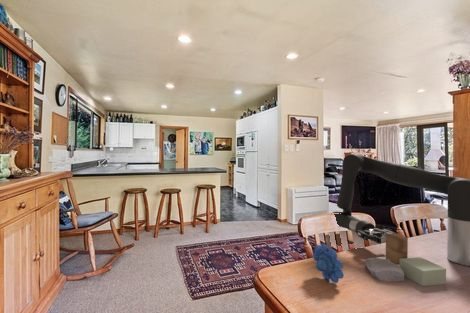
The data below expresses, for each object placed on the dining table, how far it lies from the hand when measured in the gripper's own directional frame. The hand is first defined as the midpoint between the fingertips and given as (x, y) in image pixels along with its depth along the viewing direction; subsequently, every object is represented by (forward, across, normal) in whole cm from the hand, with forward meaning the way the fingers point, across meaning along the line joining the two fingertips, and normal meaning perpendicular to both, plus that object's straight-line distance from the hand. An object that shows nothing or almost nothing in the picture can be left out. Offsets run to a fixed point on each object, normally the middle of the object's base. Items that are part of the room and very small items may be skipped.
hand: (389, 240), depth 96 cm
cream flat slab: (+3, 0, +8) cm, 9 cm away
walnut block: (+3, 0, +7) cm, 8 cm away
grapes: (+10, -34, +8) cm, 36 cm away
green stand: (+14, 0, +8) cm, 16 cm away
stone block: (+8, -11, +8) cm, 16 cm away
